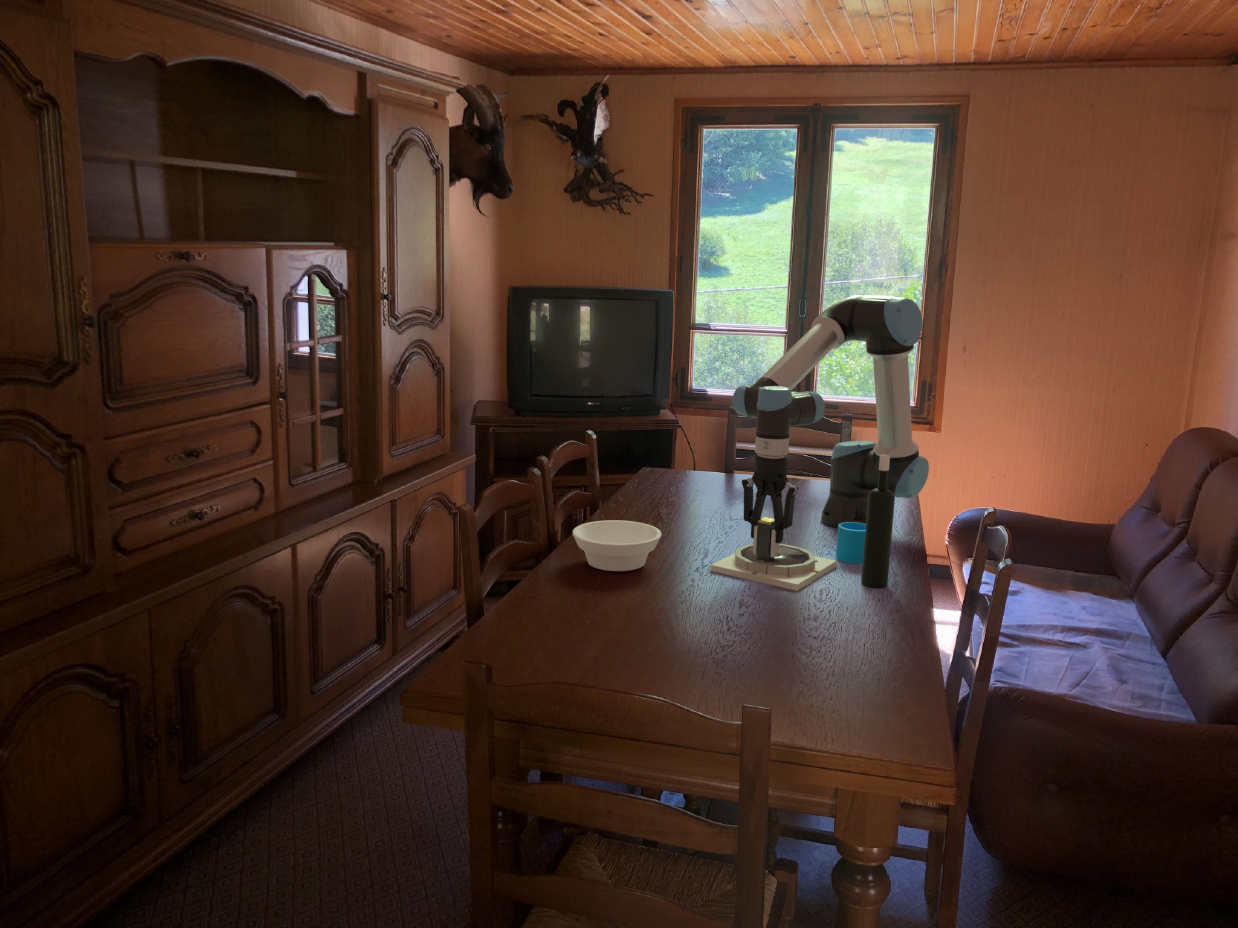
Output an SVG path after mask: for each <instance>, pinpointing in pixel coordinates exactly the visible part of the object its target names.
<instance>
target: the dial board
mask: <svg viewBox="0 0 1238 928" xmlns="http://www.w3.org/2000/svg"><path fill="white" fill-rule="evenodd" d="M753 544H754V543H753ZM753 544H752V543H751V544H744V545H743V546H740V547H738V548H736V549H735V552H734V553H733V554H731V555H728V556H727V557H724V558H722V559H720V560H718V561H716V562H714V563H712V564H711V565H710V572H714V573H717V574H721V575H727V576H731V577H736V578H741V579H744V580H747V581H752V582H757V583H762V584H765V585H770V586H776V587H778V588H784V589H787V590H793V591H797V592H798V591H799V590H801V589H803V588H804V587H806V586H807V585H809V584H810V583H813V582H814V581H816V580H817V579H818V578H821V577H822V576H823V575H825V574H827V573H828V572H830V571H832V570H834V569H836V567H837V560H835V559H832V558H831V559H830V558H825V557H821V556H820V557H819V556H815V555H814V552H811V551H809V550H807V549H804V548H803V547H799V546H794V545H789V544H785V543H779V547H785V548H790V549H794V550H797V551H799V552H801V553H803V554H804V555H805V562H804V563H802V564H795V565H787V566H786V565H767V564H763V563H758V562H754V561H750V560H748V559H746V558H745V552H746V550H748V549H750V548H753Z"/></svg>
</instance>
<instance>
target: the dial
mask: <svg viewBox="0 0 1238 928" xmlns="http://www.w3.org/2000/svg"><path fill="white" fill-rule="evenodd" d="M758 523H759V526H758V545H757V554H754V553H753V548H750V549H748V550H746V552H745V558H746V559H748V560H750V561H754V562H758V563H763V564H767V565H786V566H787V565H795V564H802V563H804V562H805V555H804V554H803V553H801V552H799V551H797V550H794V549H790V548H785V547H779V555H777V556H775V557H770V554H771V537H772V529H774V528H775V522H774V518H771V517H765V516H764V517H761V519H759V520H758Z"/></svg>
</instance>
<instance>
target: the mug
mask: <svg viewBox="0 0 1238 928" xmlns="http://www.w3.org/2000/svg"><path fill="white" fill-rule="evenodd" d="M865 531H866V524H863V523H856V522H845V523H840V524H839V525H838V528H837V536H836V537H837V538H836V550H835V551H836V554H835V558H836V559H837V560H839V561H841V562H844V563H849V564H863V556H864V543H865Z"/></svg>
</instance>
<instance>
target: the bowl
mask: <svg viewBox="0 0 1238 928" xmlns="http://www.w3.org/2000/svg"><path fill="white" fill-rule="evenodd" d="M662 535H663V534H662V532H661V530H660V529H659V528H657V527H655V526H653V525H651V524H647V523H644V522H638V521H631V520H621V519H620V520H619V519H617V520H615V519H614V520H611V519H609V520H598V521H597V520H596V521H591V522H590V521H589V522H586V523H581V524H580V525H577V526H576V527H574V529H573V530H572V536H573V538H574V540H575V543H576V544H577V547H579V549H580V550H582V551H584V553H585V554H584V555H585V557H586V562H587V563H588V565H589V566H591V567H592V568H595V569H599V570H603V571H610V572H627V571H633V570H637V569H638V570H639V569H640V568H642V567H644V566H645V564H646V562H647V559H648V555H649V553H650V552H652V551H654V550H655V549H656V547H657V545H658V543H659V541H660V540H661V537H662Z"/></svg>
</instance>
